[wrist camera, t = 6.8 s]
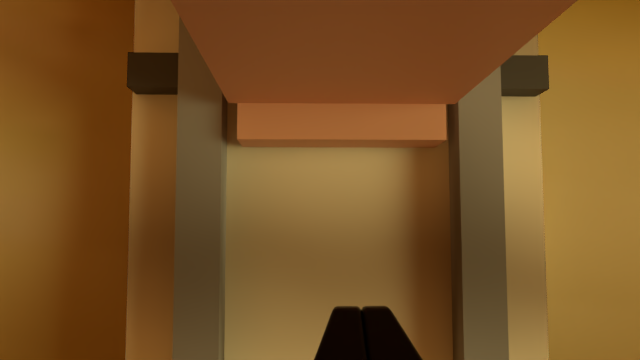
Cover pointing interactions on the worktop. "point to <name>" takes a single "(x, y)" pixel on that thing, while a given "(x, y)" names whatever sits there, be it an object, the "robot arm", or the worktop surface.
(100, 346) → the worktop surface
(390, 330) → the robot arm
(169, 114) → the slider board
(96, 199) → the worktop surface
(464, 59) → the fader tab
